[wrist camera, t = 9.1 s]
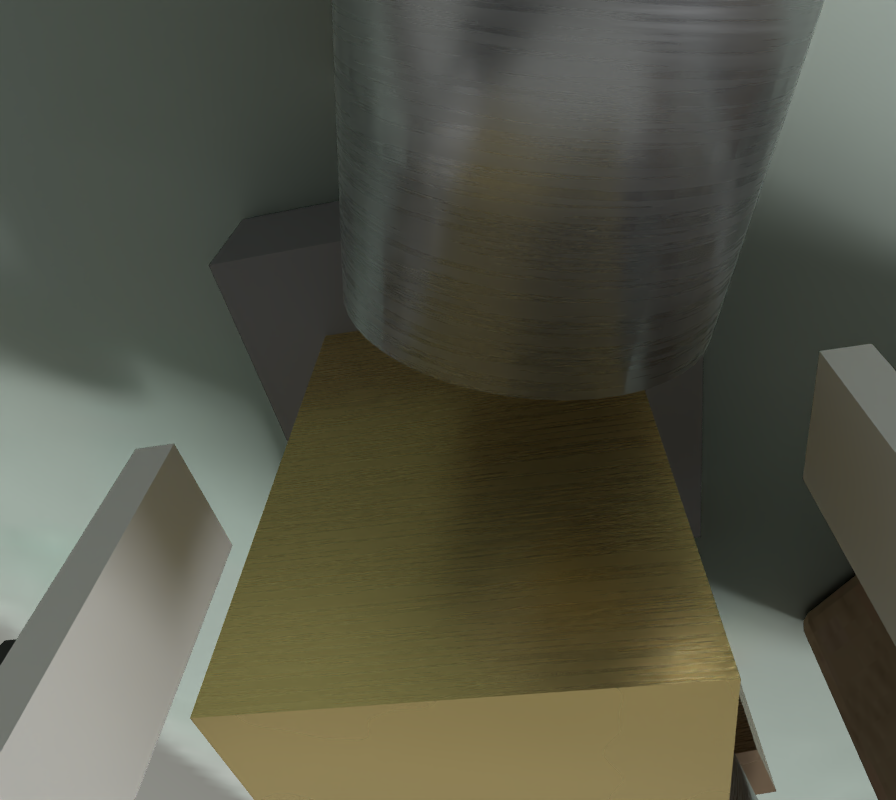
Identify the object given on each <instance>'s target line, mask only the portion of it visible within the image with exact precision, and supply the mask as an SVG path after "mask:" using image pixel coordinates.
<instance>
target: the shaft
mask: <svg viewBox="0 0 896 800" xmlns="http://www.w3.org/2000/svg"><path fill="white" fill-rule="evenodd" d="M823 3H824V0H332V25H333V50H334V76H335V101H336V127H337V153H338V178H339V204H340V230H341V255H342V281H343V299H344V305H345V308H346V311H347V313H348V316H349V317H350V319H351V320H352V322H353V324H354V325H355V327H356V328H357V329H358V330H359V331H360V332H361V333H362V334H363V336H364V337H365V338H366V339H367V340H368V341H370V342H371V343H372V344H373V345H375V346H376V347H377V348H378V349H380V350H381V351H382V352H384V353H385V354H387V355H389V356H390V357H392V358H394V359H395V360H397V361H399V362H400V363H402V364H404V365H406V366H408V367H410V368H412V369H415V370H417V371H419V372H421V373H423V374H425V375H428V376H431V377H434V378H436V379H439V380H442V381H445V382H448V383H450V384H454V385H458V386H462V387H465V388H469V389H473V390H477V391H481V392H486V393H492V394H497V395H503V396H508V397H518V398H527V399H536V400H566V401H568V400H588V399H600V398H607V397H614V396H622V395H626V394H630V393H634V392H638V391H643V390H646V389H649V388H652V387H655V386H657V385H660V384H663V383H665V382H668V381H669V380H671V379H673V378H675V377H677V376H679V375H681V374H682V373H684V372H685V371H687V370H688V369H689V368H690V367H692V366H693V365H694V364H695V363H697V361H698V360H699V359H700V358H701V356H702V355H703V354H704V353H705V351H706V349H707V347H708V345H709V343H710V340H711V337H712V334H713V331H714V328H715V325H716V322H717V320H718V317H719V314H720V311H721V308H722V305H723V302H724V299H725V296H726V293H727V290H728V287H729V284H730V281H731V278H732V275H733V272H734V269H735V266H736V263H737V260H738V257H739V254H740V251H741V248H742V245H743V242H744V239H745V236H746V233H747V230H748V227H749V224H750V221H751V218H752V215H753V212H754V209H755V206H756V203H757V200H758V197H759V194H760V191H761V188H762V185H763V182H764V179H765V176H766V173H767V170H768V167H769V164H770V161H771V158H772V155H773V152H774V149H775V146H776V143H777V140H778V137H779V134H780V131H781V128H782V126H783V123H784V120H785V117H786V114H787V111H788V108H789V105H790V102H791V99H792V96H793V93H794V90H795V87H796V84H797V81H798V78H799V75H800V72H801V69H802V66H803V63H804V60H805V57H806V54H807V51H808V48H809V45H810V42H811V39H812V36H813V33H814V30H815V27H816V24H817V21H818V18H819V15H820V12H821V9H822V6H823Z"/></svg>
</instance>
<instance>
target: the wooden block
mask: <svg viewBox="0 0 896 800" xmlns="http://www.w3.org/2000/svg"><path fill="white" fill-rule="evenodd" d="M803 624H804V632H805V635H806V637H807V639H808V642H809V644H810V646H811V648H812V651H813V653H814V655H815V657H816V660H817V662H818V664H819V666H820V669H821V671H822V673H823V676H824V678H825V680H826V682H827V685H828V687H829V689H830V691H831V694H832V696H833V698H834V701H835V703H836V705H837V707H838V710H839V712H840V714H841V716H842V719H843V721H844V723H845V726H846V728H847V730H848V732H849V735H850V737H851V739H852V741H853V744H854V746H855V748H856V751H857V753H858V755H859V757H860V760H861V762H862V764H863V766H864V769H865V771H866V773H867V776H868V778H869V780H870V782H871V785H872V787H873V789H874V791H875V794H876V796H877V798H878V800H896V646H895V644H894V643H893V641H892V639H891V637H890V635H889V634H888V632H887V630H886V628H885V626H884V625H883V623H882V621H881V619H880V617H879V615H878V614H877V612H876V610H875V608H874V606H873V605H872V603H871V601H870V599H869V597H868V596H867V594H866V592H865V590H864V588H863V587H862V585H861V583H860V581H859V579H858V578H857V576H854V577H853V578H852V579H850V580H849V581H848V582H847V583H845V584H844V585H843V586H842V587H840V588H839V589H838V590H837V591H835V592H834V593H833V594H831V595H830V596H829V597H828V598H826V599H825V600H824V601H823V602H821V603H820V604H819V605H818V606H816V607H815V608H814V609H813V610H811V611H810V612H809V613H808V614H807V616H806V618H805V619H804V621H803Z"/></svg>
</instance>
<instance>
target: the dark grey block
mask: <svg viewBox="0 0 896 800" xmlns="http://www.w3.org/2000/svg"><path fill="white" fill-rule="evenodd" d="M209 267H210V269H211V271H212V273H213V276H214V278H215V280H216V282H217V285H218V287H219V289H220V291H221V294H222V296H223V298H224V300H225V302H226V305H227V307H228V309H229V311H230V314H231V316H232V318H233V320H234V323H235V325H236V327H237V329H238V332H239V334H240V336H241V338H242V341H243V343H244V345H245V347H246V349H247V352H248V354H249V356H250V358H251V361H252V363H253V365H254V367H255V370H256V372H257V374H258V376H259V379H260V381H261V383H262V385H263V387H264V390H265V392H266V394H267V396H268V399H269V401H270V403H271V405H272V408H273V410H274V412H275V414H276V417H277V419H278V421H279V423H280V425H281V428H282V430H283V432H284V434H285V437H286V439H287V441H288V440H289V437H290V435H291V432H292V429H293V426H294V423H295V421H296V418H297V415H298V412H299V409H300V406H301V404H302V401H303V398H304V395H305V392H306V389H307V387H308V384H309V381H310V378H311V375H312V372H313V370H314V367H315V364H316V361H317V358H318V356H319V353H320V350H321V347H322V344H323V341H324V339H325V336H327V335H333V334H339V333H346V332H352V331H359V330H358V329H357V328H356V327H355V325H354V324H353V322H352V320H351V319H350V317H349V316H348V313H347V311H346V308H345V305H344V299H343V281H342V255H341V230H340V204H339V201H335V202H330V203H325V204H320V205H315V206H310V207H305V208H299V209H294V210H289V211H284V212H279V213H274V214H269V215H263V216H258V217H253V218H248V219H243V220H242V221H241V222H240V224H239V225H238V226H237V228H236V229H235V230H234V232H233V233H232V235H231V236H230V237H229V239H228V240H227V241H226V243H225V244H224V245H223V247H222V248H221V249H220V251H219V252H218V253H217V255H216V256H215V258H214V259H213V260H212V262H211V263H210V264H209ZM645 392H646V395H647V398H648V402H649V405H650V408H651V411H652V414H653V417H654V420H655V423H656V426H657V429H658V432H659V435H660V438H661V441H662V444H663V447H664V450H665V453H666V456H667V459H668V462H669V465H670V468H671V471H672V474H673V477H674V480H675V483H676V486H677V489H678V492H679V495H680V498H681V501H682V504H683V507H684V510H685V513H686V516H687V519H688V522H689V525H690V528H691V531H692V534H693V537H694V538H696V537H701V482H702V415H703V355H702V356H701V358H700V359H699V360H698V361H697V363H695V364H694V365H693V366H692V367H690V368H689V369H688V370H687V371H685V372H684V373H682V374H681V375H679V376H677V377H675V378H673V379H671V380H669V381H668V382H665V383H663V384H660V385H657V386H655V387H652V388H649V389H646V390H645Z"/></svg>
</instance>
